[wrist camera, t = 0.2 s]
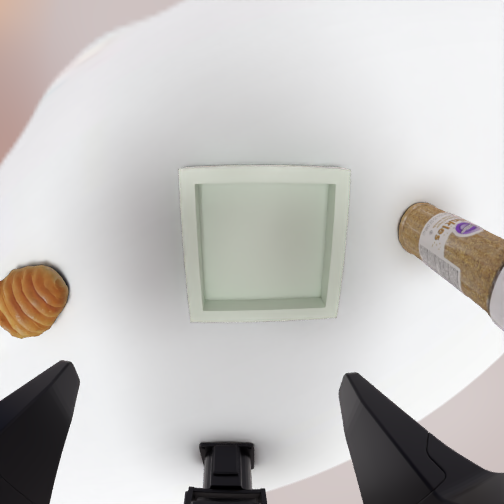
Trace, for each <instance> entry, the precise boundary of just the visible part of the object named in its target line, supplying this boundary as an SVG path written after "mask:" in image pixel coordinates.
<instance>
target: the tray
mask: <svg viewBox="0 0 504 504" xmlns="http://www.w3.org/2000/svg"><path fill="white" fill-rule="evenodd" d="M178 171H179V193H180V211H181V227H182V241H183V253H184V264H185V275H186V285H187V295H188V304H189V313H190V321H191V322H203V323H215V322H268V321H293V320H312V319H327V318H337V312H338V305H339V298H340V290H341V282H342V274H343V265H344V256H345V246H346V236H347V224H348V211H349V196H350V177H351V170H349V169H345V168H341V167H324V166H295V165H226V166H197V167H184V168H181V169H178Z"/></svg>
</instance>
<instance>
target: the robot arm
mask: <svg viewBox="0 0 504 504" xmlns="http://www.w3.org/2000/svg"><path fill="white" fill-rule="evenodd" d="M79 385H80V380H79V377H78V374H77V372H76V370H75V367H74V365H73V364H72V362H69V361H64V360H61V361H59V362H58V363H56V364H55V365H53V366H52V367H50V368H49V369H47V370H46V371H44V372H43V373H41V374H40V375H38V376H37V377H35V378H34V379H32V380H31V381H29V382H28V383H26V384H25V385H23V386H22V387H20V388H19V389H17V390H16V391H14V392H13V393H11V394H10V395H8V396H7V397H5V398H4V399H2V400H1V401H0V504H49V503H50V499H51V494H52V490H53V485H54V481H55V477H56V473H57V469H58V465H59V461H60V458H61V454H62V451H63V447H64V444H65V440H66V437H67V434H68V431H69V427H70V424H71V421H72V417H73V412H74V407H75V403H76V398H77V394H78V389H79ZM339 401H340V407H341V413H342V419H343V426H344V432H345V437H346V441H347V444H348V448H349V451H350V455H351V459H352V462H353V466H354V470H355V473H356V477H357V481H358V485H359V488H360V492H361V496H362V500H363V504H504V473H495V472H490V471H488V470H485V469H483V468H481V467H480V466H478V465H476V464H475V463H473V462H471V461H470V460H468V459H466V458H465V457H463V456H462V455H460V454H458V453H457V452H455V451H454V450H452V449H451V448H449V447H448V446H446V445H445V444H444V443H442V442H441V441H440V440H439V439H437V438H436V437H435V436H433V435H432V434H431V433H428V431H427V430H426V429H425V428H424V427H422V426H421V425H420V424H419V423H417V422H416V421H415V420H414V419H413V418H411V417H410V416H409V415H408V414H406V413H405V412H404V411H403V410H402V409H400V408H399V407H398V406H397V405H396V404H394V403H393V402H392V401H391V400H390V399H388V398H387V397H386V396H385V395H384V394H382V393H381V392H380V391H379V390H378V389H376V388H375V387H374V386H373V385H372V384H370V383H369V382H368V381H367V380H366V379H365V378H363V377H362V376H361V375H360V374H359V373H356V372H354V373H346V374H345V375H344V377H343V380H342V383H341V386H340V389H339ZM199 449H200V452H201V456H202V460H203V464H204V479H203V488H194V487H189V490H188V491H186V492H185V499H184V504H267V499H266V492H265V488H263V489H252V476H251V469H253V468H254V445H253V444H209V443H201V444H200V445H199Z"/></svg>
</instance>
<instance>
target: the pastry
mask: <svg viewBox="0 0 504 504" xmlns="http://www.w3.org/2000/svg"><path fill="white" fill-rule="evenodd" d="M68 294H69V291H68V287H67V285H66V284H65V282H64V280H63V279H62V277H61V276H60V275H59V274H58V273H57V272H56V271H55V270H54V269H52V268H51V267H47V266H44V265H38V266H26V267H23V268H20V269H14V270H12V271H11V272H10V273H9V275H8V276H7V277H6V278H5V279H3V280H2V281H0V325H1V326H2V328H4V329H5V330H6V331H8V332H9V333H10V334H11V335H12V336H14V337H17V338H21V339H22V338H26V337H32V336H39V335H40V334H42V333H43V332H44V331H46V330H48V329H50V328H51V326H52V324H53V323H54V321H55V320H56V318H57V316H58V315H59V314H60V313H61V311H62V310H63V308H64V306H65V304H66V302H67V298H68Z"/></svg>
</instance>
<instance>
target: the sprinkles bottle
mask: <svg viewBox="0 0 504 504" xmlns="http://www.w3.org/2000/svg"><path fill="white" fill-rule="evenodd" d="M399 240H400V242H401V244H402V246H403V248H404V249H405V250H406V251H407V252H409V253H410V254H414V255H415V256H416V257H418V258H419V259H421V260H422V261H423V262H424V263H425V264H426V265H427V266H429V267H430V268H431V269H432V270H434V271H435V272H436V273H438V274H439V275H440V276H441V277H443V278H444V279H445V280H447V281H448V282H449V283H451V284H452V285H453V286H454V287H456V288H457V289H458V290H459V291H461V292H462V293H463V294H464V295H466V296H467V297H469V298H471V299H472V300H473V301H474V302H475V303H477V304H478V305H479V306H480V307H481V308H482V309H484V310H485V311H486V312H487V313H488V315H489V316H490V317H491V319H492V321H493V322H494V323H495V324H496V325H497V326H498V327H499V328H501V329H502V330H503V331H504V239H502V238H500V237H498V236H496V235H494V234H492V233H490V232H488V231H486V230H484V229H483V228H481V227H479V226H477V225H475V224H473V223H471V222H469V221H467V220H465V219H462V218H460V217H458V216H456V215H453V214H451V213H447V212H444V211H442V210H440V209H437V208H436V207H435V206H433V205H431V204H429V203H417V204H414V205H413V206H411V207H410V208H409V209H408V210H407V211H406V212H405V214H404V215H403V217H402V218H401V222H400V225H399Z"/></svg>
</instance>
